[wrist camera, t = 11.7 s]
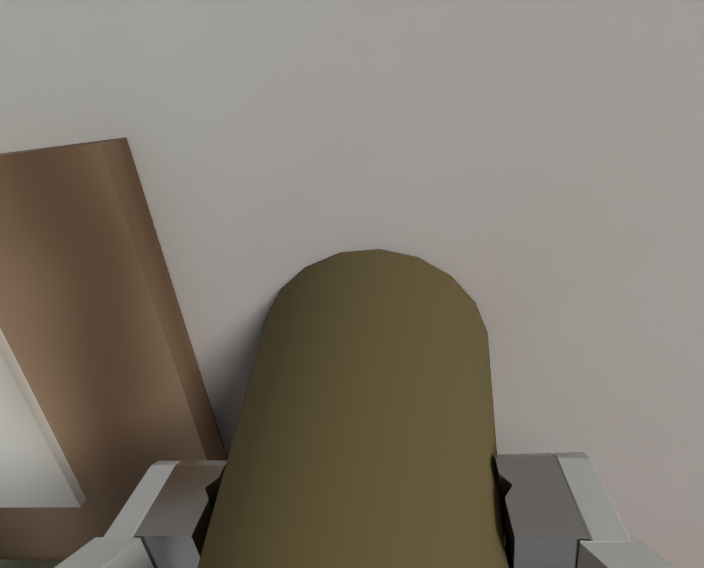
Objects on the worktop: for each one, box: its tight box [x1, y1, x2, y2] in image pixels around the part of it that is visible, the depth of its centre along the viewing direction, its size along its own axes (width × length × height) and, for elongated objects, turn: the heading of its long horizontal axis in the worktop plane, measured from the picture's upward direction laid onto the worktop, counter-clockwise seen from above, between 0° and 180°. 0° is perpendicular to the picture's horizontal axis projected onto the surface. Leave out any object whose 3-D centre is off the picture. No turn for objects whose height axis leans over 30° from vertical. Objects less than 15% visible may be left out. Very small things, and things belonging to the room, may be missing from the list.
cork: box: [197, 249, 506, 568], centre depth 7 cm, size 6×6×11 cm
